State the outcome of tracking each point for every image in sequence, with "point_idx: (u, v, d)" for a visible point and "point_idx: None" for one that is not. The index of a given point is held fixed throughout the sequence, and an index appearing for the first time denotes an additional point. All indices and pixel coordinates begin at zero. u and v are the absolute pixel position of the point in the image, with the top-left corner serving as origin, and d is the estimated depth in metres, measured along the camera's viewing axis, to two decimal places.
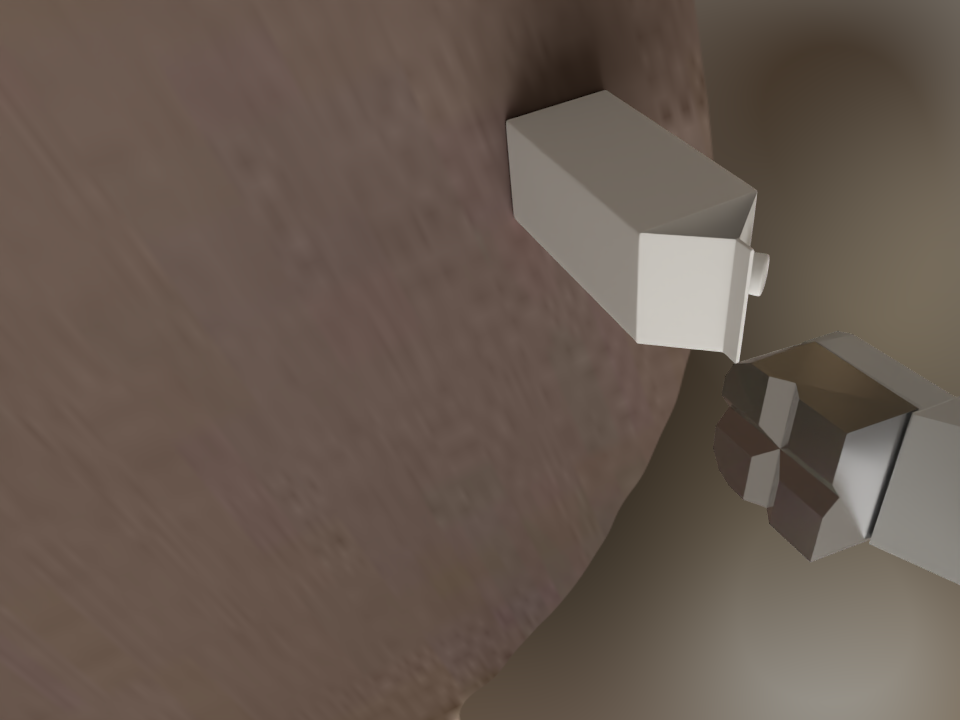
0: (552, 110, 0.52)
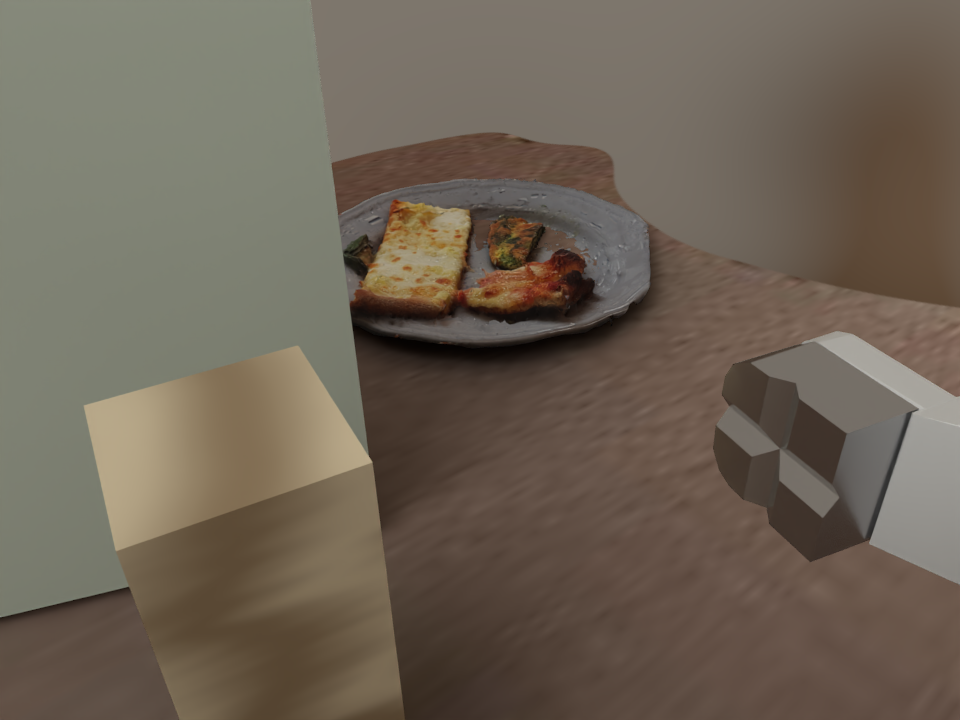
0: None
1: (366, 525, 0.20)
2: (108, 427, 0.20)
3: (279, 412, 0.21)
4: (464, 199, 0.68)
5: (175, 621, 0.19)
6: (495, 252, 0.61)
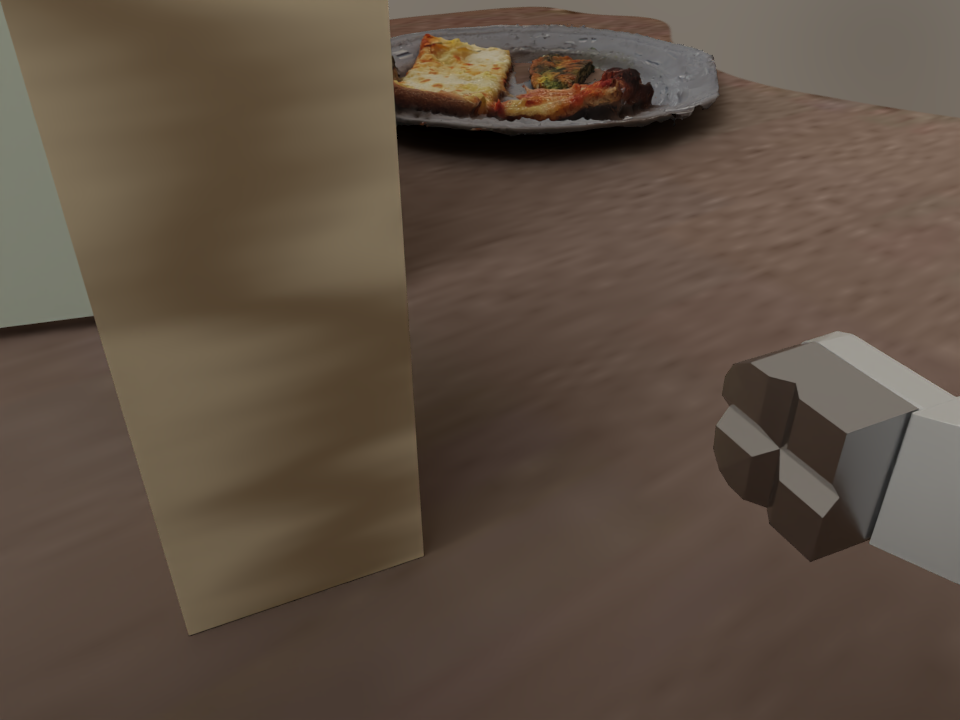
0: None
1: None
2: None
3: None
4: (504, 43, 0.61)
5: None
6: (538, 78, 0.53)
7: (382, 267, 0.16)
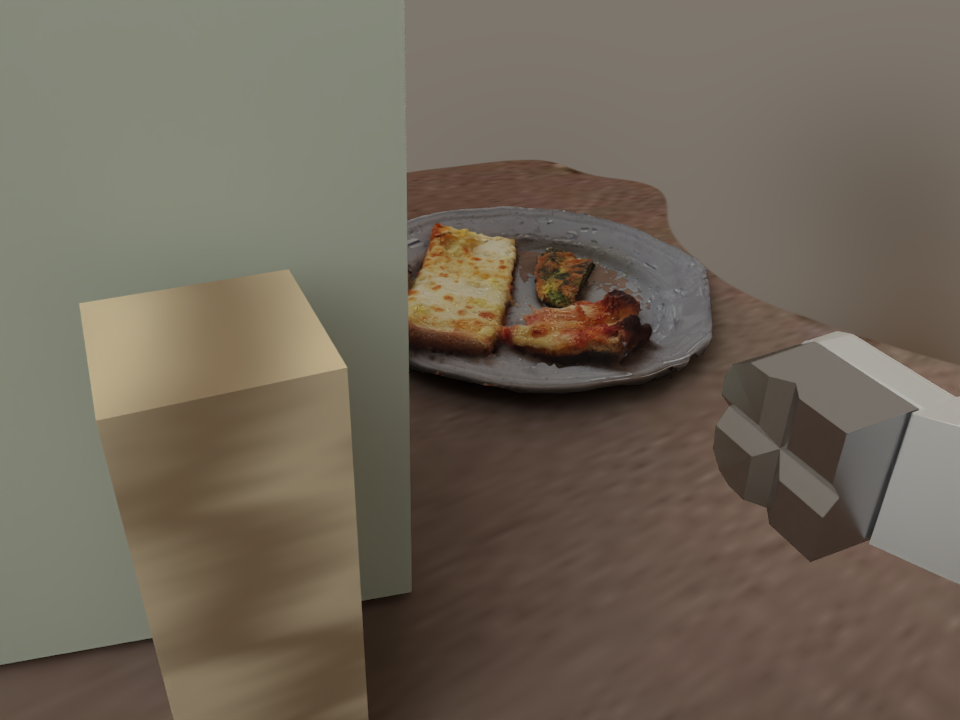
0: None
1: (337, 431, 0.21)
2: (100, 322, 0.21)
3: (264, 321, 0.22)
4: (509, 228, 0.64)
5: (147, 502, 0.20)
6: (543, 287, 0.57)
7: (346, 611, 0.24)
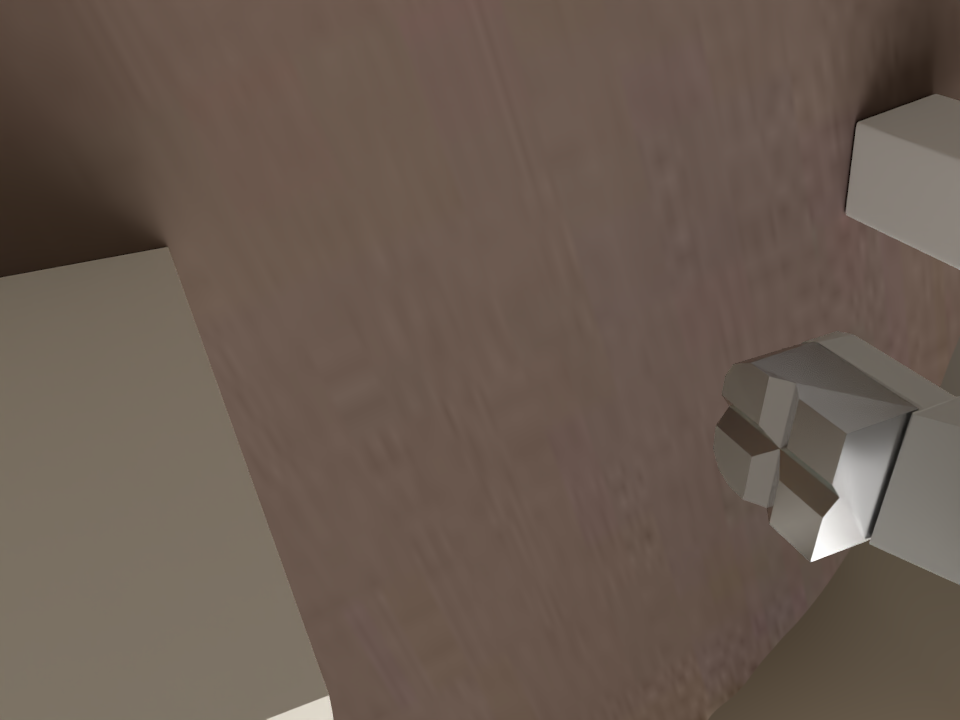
0: (897, 111, 0.58)
1: None
2: None
3: None
4: None
5: None
6: None
7: None
